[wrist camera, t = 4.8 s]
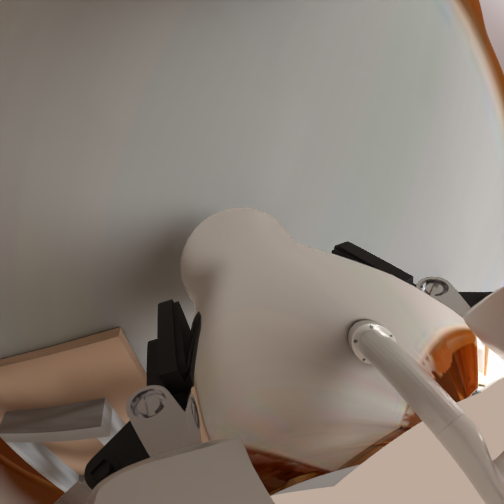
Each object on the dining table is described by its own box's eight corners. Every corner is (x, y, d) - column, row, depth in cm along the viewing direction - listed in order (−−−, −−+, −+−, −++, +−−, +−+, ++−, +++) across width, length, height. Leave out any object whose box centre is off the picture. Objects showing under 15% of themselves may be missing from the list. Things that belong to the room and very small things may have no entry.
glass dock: (-38, 368, 13) (-55, 393, 9) (120, 326, 17) (112, 364, 13) (79, 489, 21) (78, 513, 17) (217, 472, 25) (225, 500, 21)
